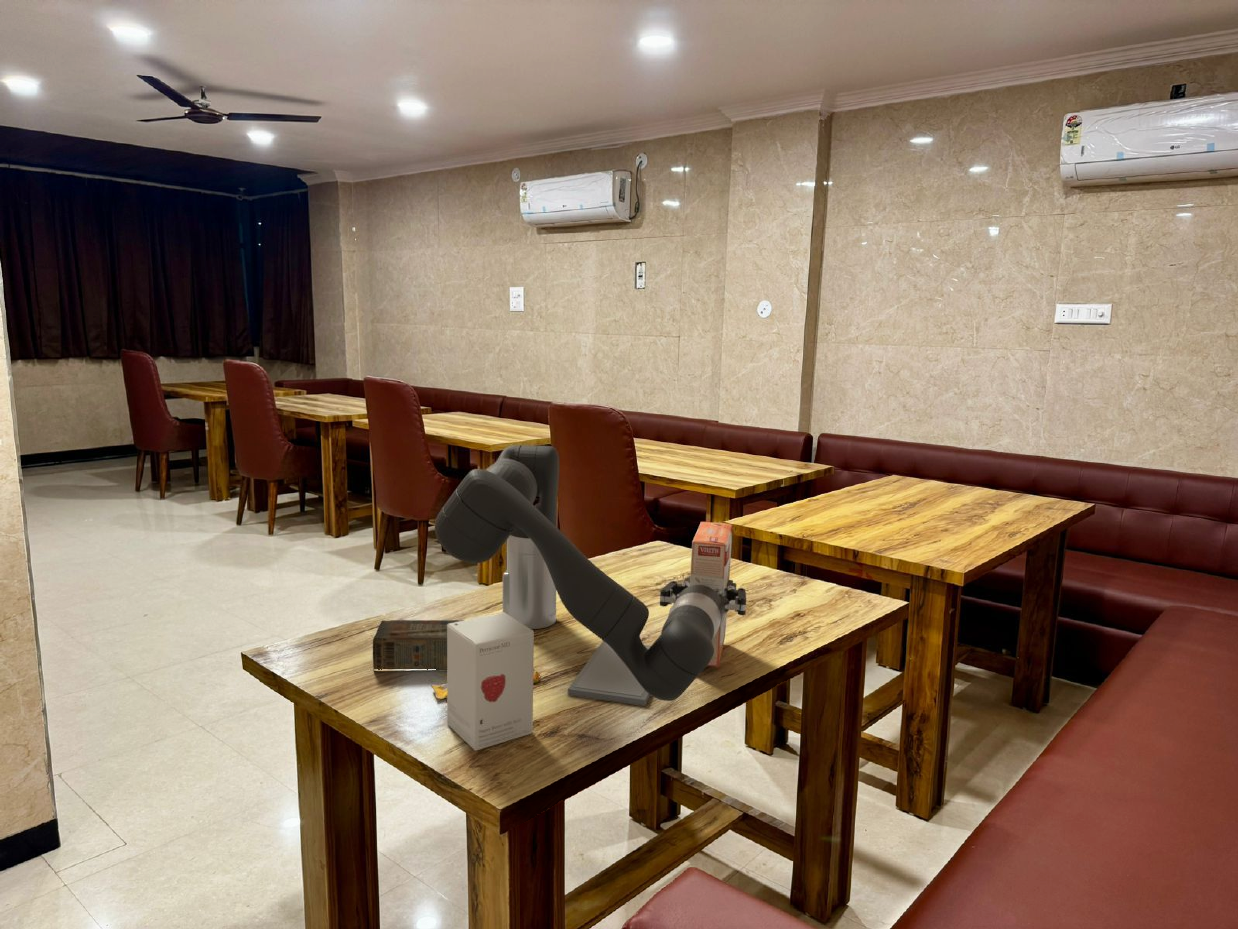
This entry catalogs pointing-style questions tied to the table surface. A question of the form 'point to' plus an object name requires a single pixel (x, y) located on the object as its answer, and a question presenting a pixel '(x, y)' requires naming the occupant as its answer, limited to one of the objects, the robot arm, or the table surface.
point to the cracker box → (712, 569)
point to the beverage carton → (411, 644)
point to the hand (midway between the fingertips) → (711, 583)
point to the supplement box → (490, 679)
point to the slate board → (608, 679)
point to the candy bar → (442, 689)
